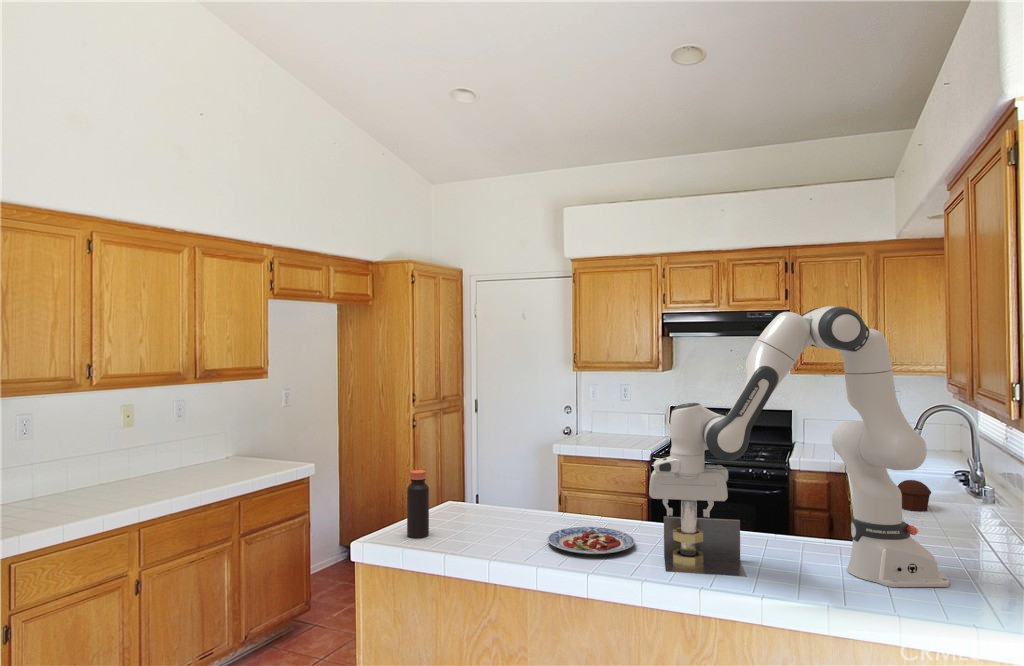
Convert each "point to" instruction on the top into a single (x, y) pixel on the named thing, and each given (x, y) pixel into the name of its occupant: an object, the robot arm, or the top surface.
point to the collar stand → (704, 547)
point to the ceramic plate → (591, 540)
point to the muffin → (914, 495)
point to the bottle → (417, 505)
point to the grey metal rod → (688, 526)
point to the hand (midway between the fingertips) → (688, 516)
